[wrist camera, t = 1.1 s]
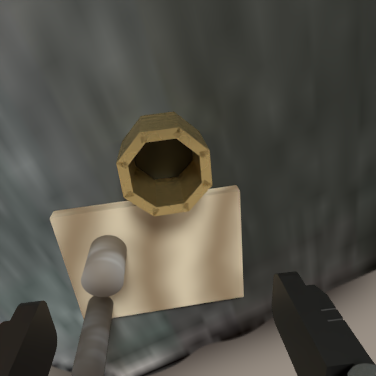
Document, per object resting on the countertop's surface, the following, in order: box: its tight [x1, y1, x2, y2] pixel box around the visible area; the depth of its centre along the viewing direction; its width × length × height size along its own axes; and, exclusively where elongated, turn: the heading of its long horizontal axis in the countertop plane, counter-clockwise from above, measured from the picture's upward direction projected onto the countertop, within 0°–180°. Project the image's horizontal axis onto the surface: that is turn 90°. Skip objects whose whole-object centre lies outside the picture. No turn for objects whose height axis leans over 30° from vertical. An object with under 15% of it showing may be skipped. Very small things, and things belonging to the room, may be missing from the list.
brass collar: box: [116, 112, 212, 216], centre depth 24 cm, size 6×6×5 cm
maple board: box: [50, 185, 244, 376], centre depth 26 cm, size 16×12×8 cm
